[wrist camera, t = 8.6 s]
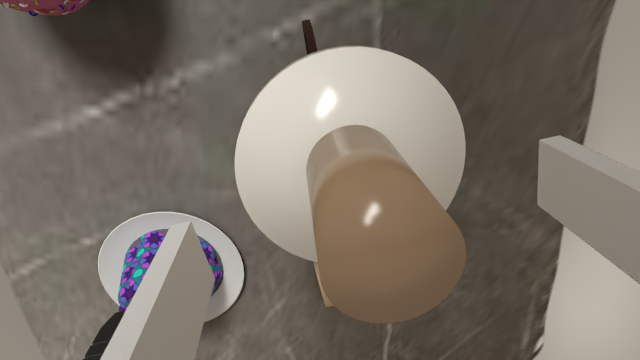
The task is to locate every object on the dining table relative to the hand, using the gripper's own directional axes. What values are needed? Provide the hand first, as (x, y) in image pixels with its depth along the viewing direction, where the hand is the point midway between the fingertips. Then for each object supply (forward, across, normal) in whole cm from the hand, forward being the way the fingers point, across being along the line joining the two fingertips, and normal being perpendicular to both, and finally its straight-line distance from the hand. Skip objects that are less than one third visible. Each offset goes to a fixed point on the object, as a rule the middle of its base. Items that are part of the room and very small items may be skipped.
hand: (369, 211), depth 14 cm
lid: (+5, 0, 0) cm, 5 cm away
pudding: (+16, -16, -10) cm, 25 cm away
